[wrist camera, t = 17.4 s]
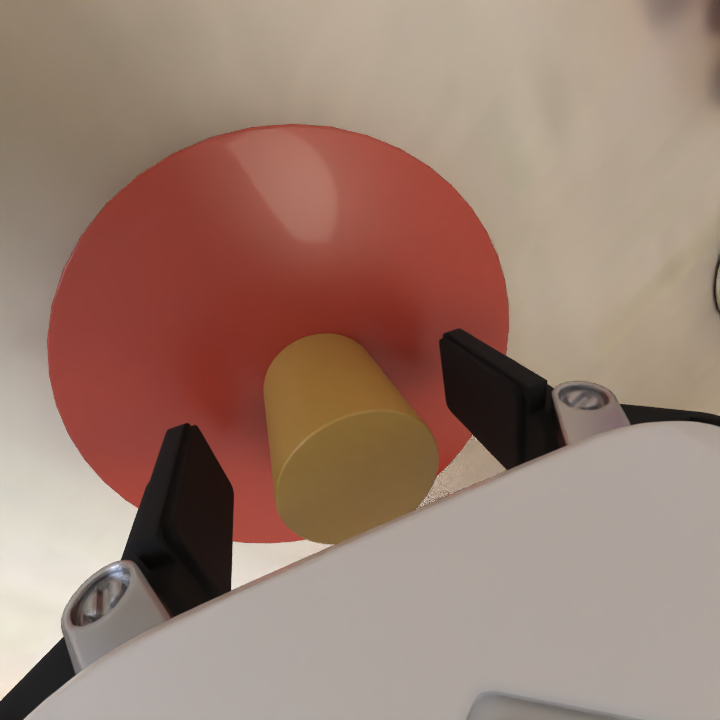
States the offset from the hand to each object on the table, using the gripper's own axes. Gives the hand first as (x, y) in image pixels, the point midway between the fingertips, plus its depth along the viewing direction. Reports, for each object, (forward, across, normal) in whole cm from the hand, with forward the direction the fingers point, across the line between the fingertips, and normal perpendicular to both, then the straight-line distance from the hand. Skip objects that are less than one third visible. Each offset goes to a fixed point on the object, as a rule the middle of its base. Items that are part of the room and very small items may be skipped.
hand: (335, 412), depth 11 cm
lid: (+2, 0, 0) cm, 2 cm away
